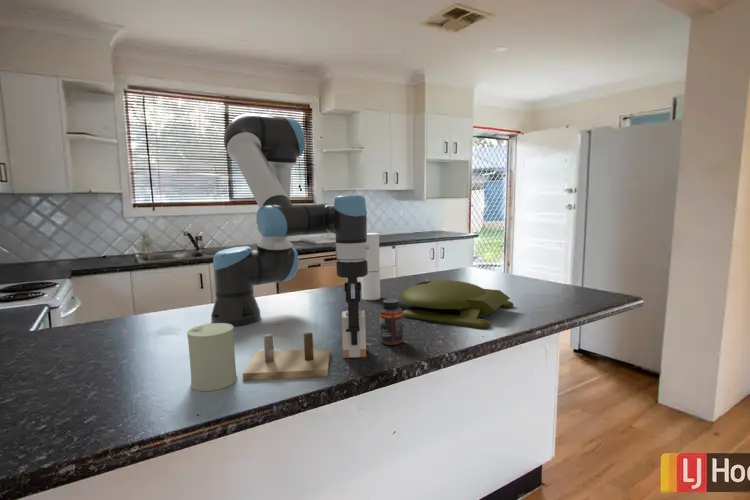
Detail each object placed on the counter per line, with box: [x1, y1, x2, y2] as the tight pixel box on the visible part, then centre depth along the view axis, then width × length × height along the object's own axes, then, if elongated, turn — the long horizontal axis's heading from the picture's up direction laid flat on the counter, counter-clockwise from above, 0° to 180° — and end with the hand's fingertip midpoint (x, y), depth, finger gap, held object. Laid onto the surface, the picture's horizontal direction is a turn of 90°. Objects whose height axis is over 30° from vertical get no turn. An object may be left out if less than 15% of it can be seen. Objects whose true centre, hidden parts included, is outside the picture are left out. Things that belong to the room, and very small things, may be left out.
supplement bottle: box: [379, 298, 404, 346], centre depth 110 cm, size 6×6×11 cm
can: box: [186, 322, 238, 392], centre depth 87 cm, size 9×9×12 cm
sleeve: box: [341, 310, 367, 359], centre depth 102 cm, size 6×6×10 cm
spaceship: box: [399, 279, 514, 330], centre depth 140 cm, size 35×31×10 cm
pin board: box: [242, 332, 331, 381], centre depth 95 cm, size 18×13×8 cm
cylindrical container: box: [360, 232, 381, 301], centre depth 159 cm, size 7×7×25 cm
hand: (354, 351), depth 103 cm, fingers closed on sleeve, 6 cm apart
